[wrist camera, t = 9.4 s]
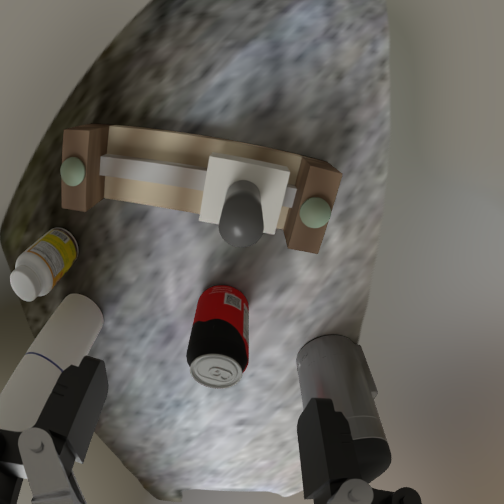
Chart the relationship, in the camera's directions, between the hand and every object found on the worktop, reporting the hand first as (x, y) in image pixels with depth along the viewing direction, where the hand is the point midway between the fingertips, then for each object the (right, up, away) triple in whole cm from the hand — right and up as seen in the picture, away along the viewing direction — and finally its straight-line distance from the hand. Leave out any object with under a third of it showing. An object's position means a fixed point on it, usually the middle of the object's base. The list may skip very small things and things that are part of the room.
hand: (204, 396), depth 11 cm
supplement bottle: (-23, +6, +25) cm, 34 cm away
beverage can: (-2, -1, +29) cm, 29 cm away
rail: (-4, +14, +21) cm, 25 cm away
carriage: (+1, +11, +18) cm, 22 cm away
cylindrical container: (-23, -4, +30) cm, 38 cm away
